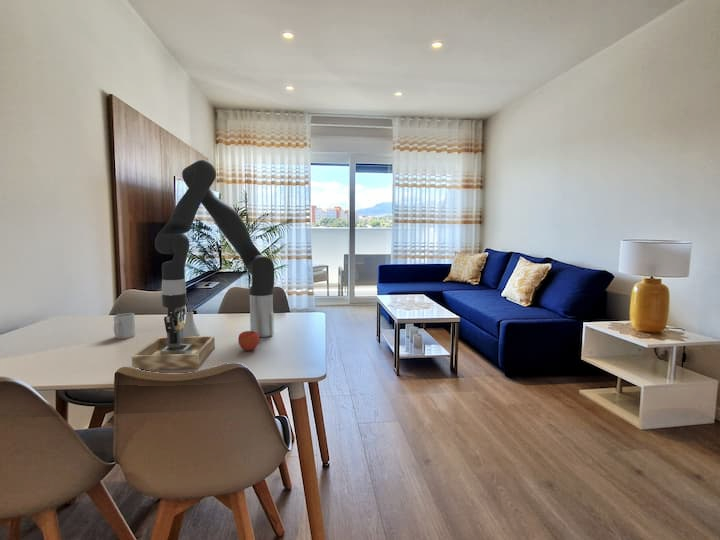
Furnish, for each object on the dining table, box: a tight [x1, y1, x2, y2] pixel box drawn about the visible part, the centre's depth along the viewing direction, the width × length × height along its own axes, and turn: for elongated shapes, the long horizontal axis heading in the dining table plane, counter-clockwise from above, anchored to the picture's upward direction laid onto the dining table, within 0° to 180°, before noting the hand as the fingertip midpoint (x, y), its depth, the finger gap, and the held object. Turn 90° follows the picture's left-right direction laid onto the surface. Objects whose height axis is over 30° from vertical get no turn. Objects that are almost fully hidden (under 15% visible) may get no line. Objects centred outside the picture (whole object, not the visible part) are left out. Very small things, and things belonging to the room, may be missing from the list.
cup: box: [113, 312, 136, 340], centre depth 166 cm, size 7×10×9 cm
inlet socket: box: [160, 344, 193, 355], centre depth 141 cm, size 8×8×3 cm
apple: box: [237, 329, 260, 352], centre depth 151 cm, size 7×7×8 cm
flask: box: [183, 311, 201, 337], centre depth 168 cm, size 7×7×10 cm
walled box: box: [131, 335, 216, 371], centre depth 141 cm, size 20×22×4 cm
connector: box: [166, 320, 185, 347], centre depth 140 cm, size 5×5×8 cm
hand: (175, 341), depth 141 cm, fingers closed on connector, 4 cm apart
